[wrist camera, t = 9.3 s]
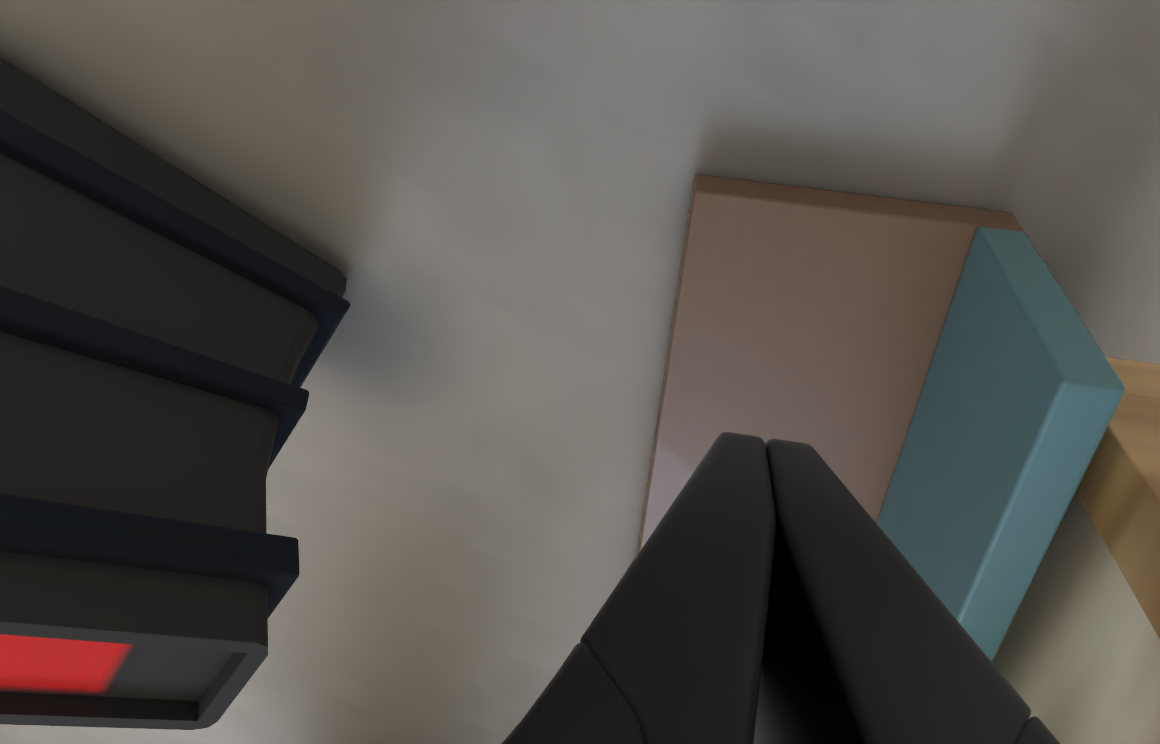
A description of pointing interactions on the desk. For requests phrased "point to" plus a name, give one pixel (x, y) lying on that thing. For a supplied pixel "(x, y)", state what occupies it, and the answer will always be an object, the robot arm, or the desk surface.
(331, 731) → the desk surface
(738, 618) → the robot arm
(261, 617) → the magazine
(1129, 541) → the picture frame
